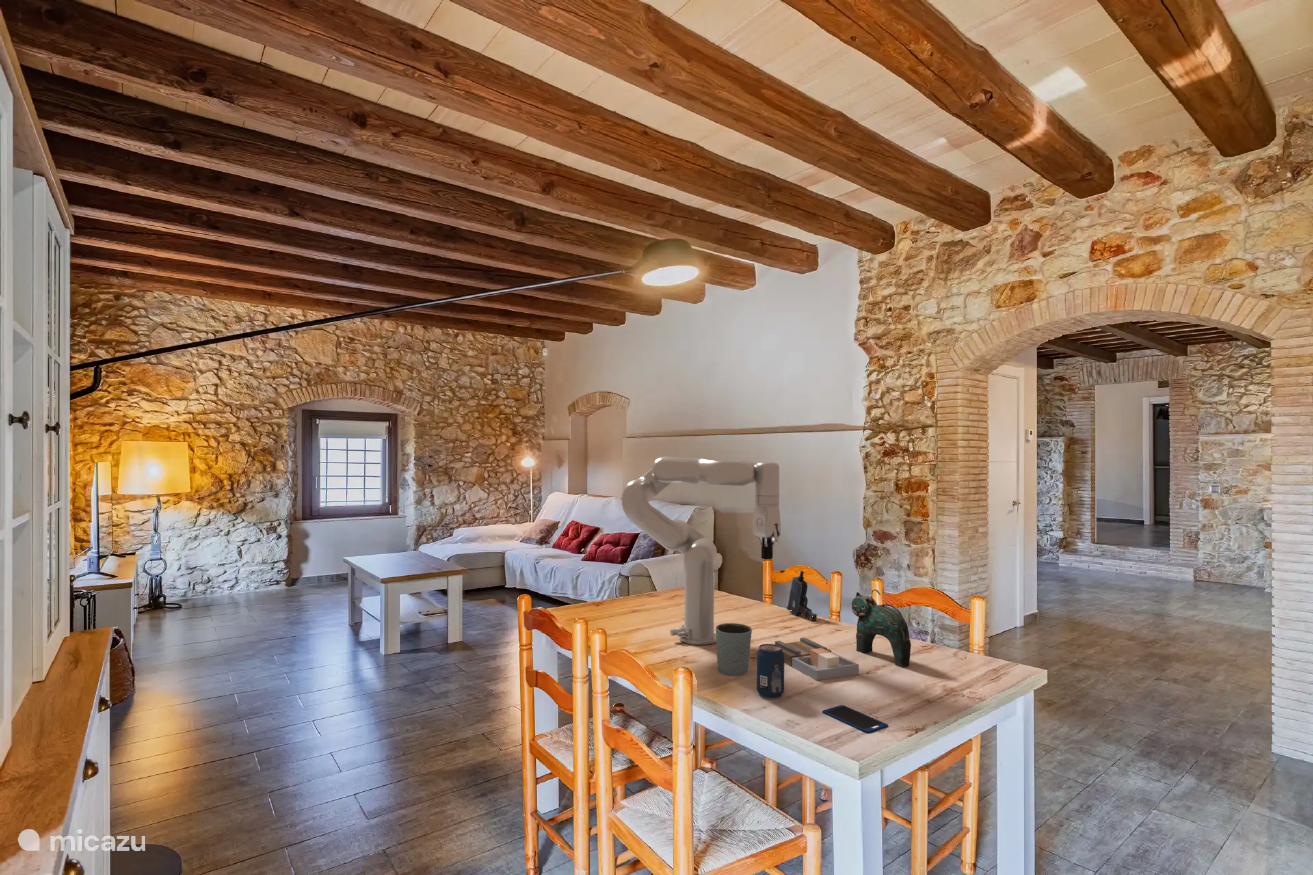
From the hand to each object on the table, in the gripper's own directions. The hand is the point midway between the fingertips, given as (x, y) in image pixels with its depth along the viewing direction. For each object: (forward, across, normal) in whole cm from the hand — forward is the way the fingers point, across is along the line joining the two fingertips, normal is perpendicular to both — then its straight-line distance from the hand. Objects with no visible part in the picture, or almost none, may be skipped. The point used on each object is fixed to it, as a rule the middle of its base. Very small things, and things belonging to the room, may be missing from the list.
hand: (767, 558), depth 210 cm
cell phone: (+28, +57, -12) cm, 65 cm away
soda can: (+27, +37, -22) cm, 51 cm away
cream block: (+24, +27, +2) cm, 36 cm away
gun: (+27, -24, +30) cm, 47 cm away
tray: (+27, +27, +2) cm, 39 cm away
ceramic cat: (+27, +24, +25) cm, 44 cm away
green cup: (+27, +18, -22) cm, 39 cm away
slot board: (+27, +16, +2) cm, 31 cm away
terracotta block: (+26, +25, +2) cm, 36 cm away
